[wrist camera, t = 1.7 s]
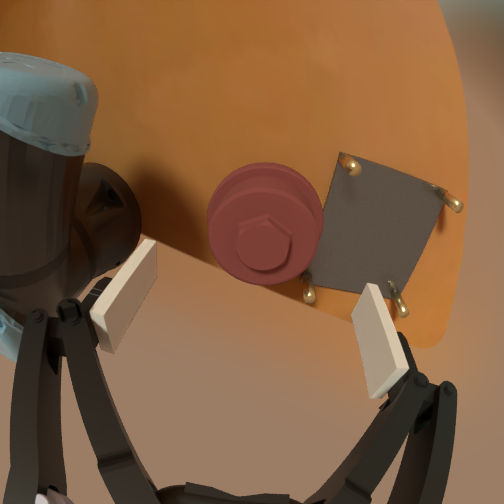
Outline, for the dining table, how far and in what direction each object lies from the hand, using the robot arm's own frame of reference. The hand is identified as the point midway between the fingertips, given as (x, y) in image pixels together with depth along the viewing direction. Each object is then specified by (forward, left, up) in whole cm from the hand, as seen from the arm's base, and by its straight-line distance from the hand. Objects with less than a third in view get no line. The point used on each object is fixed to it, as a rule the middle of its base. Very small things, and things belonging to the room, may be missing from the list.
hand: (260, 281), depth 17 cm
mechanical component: (0, 0, -16) cm, 16 cm away
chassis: (+14, -2, -16) cm, 21 cm away
